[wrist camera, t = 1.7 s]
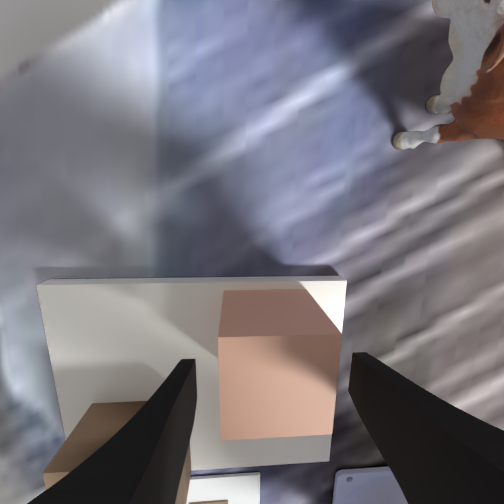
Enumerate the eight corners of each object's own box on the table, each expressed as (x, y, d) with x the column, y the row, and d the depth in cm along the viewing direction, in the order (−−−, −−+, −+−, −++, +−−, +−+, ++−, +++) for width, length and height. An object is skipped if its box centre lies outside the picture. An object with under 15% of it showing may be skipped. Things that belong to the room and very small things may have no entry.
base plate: (339, 275, 16) (346, 280, 15) (324, 447, 19) (329, 461, 18) (49, 279, 14) (35, 285, 13) (82, 462, 17) (73, 478, 16)
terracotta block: (306, 289, 15) (342, 333, 10) (301, 361, 16) (332, 434, 11) (223, 290, 14) (218, 337, 9) (225, 364, 15) (220, 440, 10)
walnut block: (187, 398, 16) (171, 465, 12) (191, 470, 17) (178, 551, 13) (92, 403, 15) (42, 473, 11) (103, 476, 16) (62, 562, 13)
